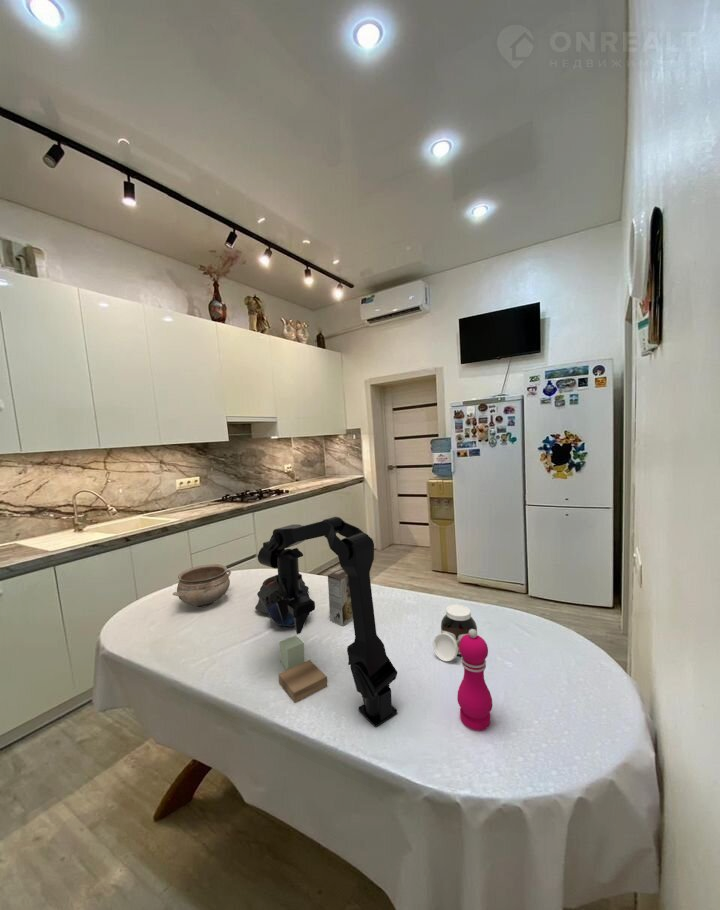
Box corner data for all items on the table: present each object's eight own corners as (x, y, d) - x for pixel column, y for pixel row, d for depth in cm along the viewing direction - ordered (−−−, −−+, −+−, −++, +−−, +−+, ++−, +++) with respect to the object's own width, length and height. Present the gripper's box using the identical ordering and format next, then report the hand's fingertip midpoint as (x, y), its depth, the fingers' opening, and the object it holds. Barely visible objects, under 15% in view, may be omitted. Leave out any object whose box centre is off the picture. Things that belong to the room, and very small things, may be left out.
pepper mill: (485, 705, 82) (483, 620, 81) (498, 731, 74) (496, 637, 73) (453, 708, 81) (451, 621, 80) (464, 734, 74) (461, 639, 73)
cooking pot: (215, 586, 156) (214, 559, 155) (246, 594, 146) (245, 565, 146) (159, 612, 134) (157, 580, 134) (191, 623, 125) (189, 588, 124)
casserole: (280, 586, 153) (279, 567, 153) (319, 591, 147) (318, 571, 147) (242, 614, 130) (241, 591, 129) (288, 621, 123) (286, 597, 123)
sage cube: (305, 663, 100) (303, 642, 99) (288, 671, 97) (287, 649, 96) (296, 655, 104) (295, 635, 103) (280, 662, 101) (279, 641, 101)
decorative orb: (283, 626, 110) (301, 577, 117) (250, 615, 118) (269, 570, 125) (309, 636, 120) (324, 590, 127) (276, 625, 128) (293, 582, 135)
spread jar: (477, 644, 106) (476, 605, 105) (479, 668, 95) (478, 625, 94) (435, 639, 109) (434, 602, 108) (432, 662, 98) (431, 620, 97)
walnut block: (327, 688, 90) (326, 676, 90) (294, 705, 85) (294, 692, 85) (310, 670, 97) (309, 659, 97) (279, 684, 92) (278, 673, 92)
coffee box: (346, 610, 129) (344, 566, 129) (360, 615, 125) (358, 570, 125) (329, 621, 122) (326, 574, 122) (343, 626, 118) (340, 578, 118)
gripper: (248, 569, 102) (251, 623, 103) (274, 590, 87) (277, 653, 87) (284, 560, 108) (287, 611, 109) (314, 578, 93) (317, 636, 94)
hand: (291, 626), depth 100 cm, fingers open, 9 cm apart
